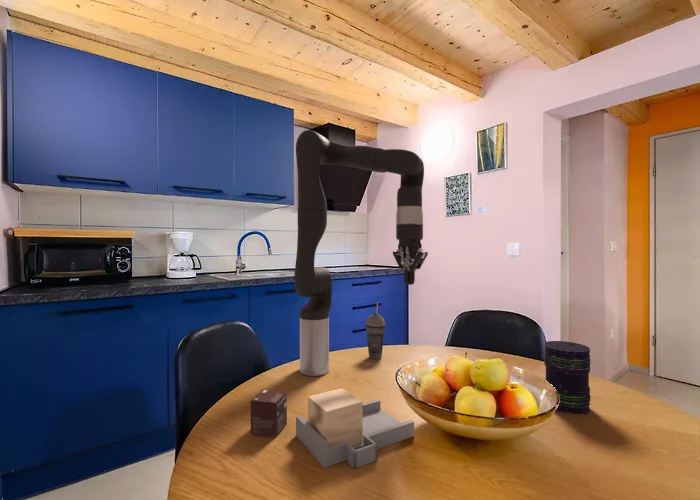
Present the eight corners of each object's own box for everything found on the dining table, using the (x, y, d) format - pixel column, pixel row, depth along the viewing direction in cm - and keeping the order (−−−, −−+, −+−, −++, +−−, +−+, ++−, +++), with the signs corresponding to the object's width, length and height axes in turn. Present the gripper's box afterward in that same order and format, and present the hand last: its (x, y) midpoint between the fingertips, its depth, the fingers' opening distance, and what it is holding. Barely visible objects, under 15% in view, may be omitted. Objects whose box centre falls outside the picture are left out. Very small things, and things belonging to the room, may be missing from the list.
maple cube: (308, 435, 73) (308, 396, 73) (342, 424, 77) (342, 388, 77) (326, 454, 66) (326, 411, 66) (362, 442, 71) (362, 401, 70)
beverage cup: (375, 353, 134) (375, 299, 134) (389, 357, 128) (389, 301, 128) (361, 357, 129) (360, 301, 129) (375, 361, 123) (375, 304, 123)
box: (276, 438, 74) (276, 402, 74) (249, 435, 75) (249, 400, 75) (287, 424, 80) (287, 391, 80) (262, 421, 81) (262, 389, 81)
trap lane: (290, 429, 78) (290, 410, 78) (370, 407, 88) (370, 390, 88) (331, 477, 61) (331, 454, 61) (424, 443, 72) (424, 423, 72)
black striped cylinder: (579, 419, 82) (580, 354, 82) (536, 404, 90) (536, 344, 90) (597, 407, 88) (597, 347, 88) (555, 394, 96) (555, 338, 96)
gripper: (384, 224, 105) (384, 283, 105) (414, 221, 94) (414, 287, 94) (404, 225, 109) (404, 281, 109) (435, 222, 98) (435, 285, 98)
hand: (409, 284), depth 102 cm, fingers closed
